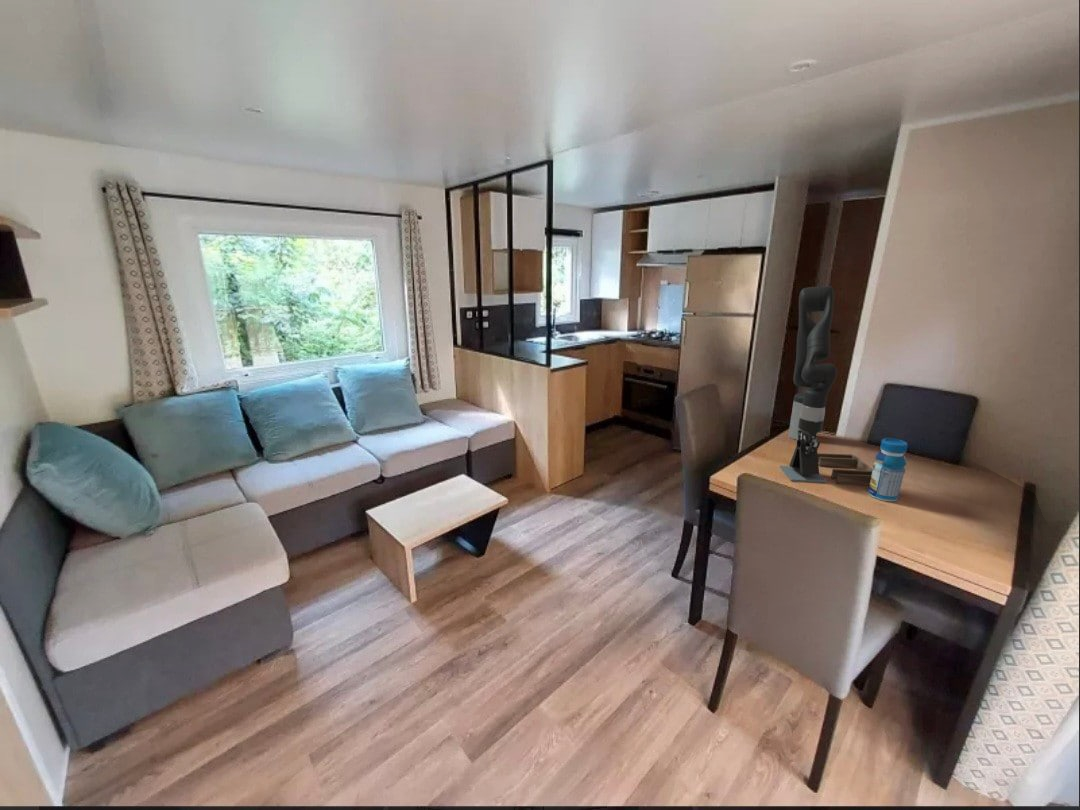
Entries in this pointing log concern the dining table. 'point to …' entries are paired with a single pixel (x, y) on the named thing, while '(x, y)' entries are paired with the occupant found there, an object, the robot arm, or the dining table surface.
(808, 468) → the phone stand
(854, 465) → the walnut rack
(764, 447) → the dining table surface
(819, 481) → the slate mat
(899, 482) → the blue pill bottle
